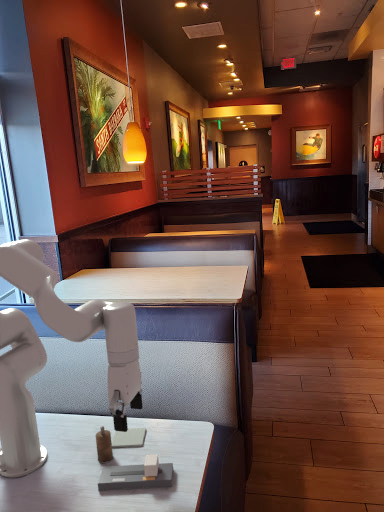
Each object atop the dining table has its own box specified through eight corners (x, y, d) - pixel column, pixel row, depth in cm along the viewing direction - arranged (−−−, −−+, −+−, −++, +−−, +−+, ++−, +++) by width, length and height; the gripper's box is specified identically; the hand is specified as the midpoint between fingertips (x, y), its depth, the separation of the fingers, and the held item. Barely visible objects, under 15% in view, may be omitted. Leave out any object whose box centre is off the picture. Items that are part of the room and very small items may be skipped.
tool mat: (110, 447, 115) (110, 446, 115) (116, 431, 123) (116, 429, 123) (142, 446, 115) (142, 444, 115) (145, 429, 123) (145, 427, 123)
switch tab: (145, 476, 99) (143, 465, 99) (147, 465, 103) (146, 454, 103) (157, 475, 99) (156, 464, 99) (158, 464, 103) (157, 454, 102)
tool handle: (98, 464, 108) (94, 432, 107) (97, 455, 112) (94, 425, 111) (113, 460, 109) (110, 429, 108) (112, 452, 113) (109, 422, 112)
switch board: (98, 490, 99) (97, 483, 99) (104, 473, 105) (103, 466, 104) (171, 486, 98) (171, 479, 98) (173, 469, 104) (172, 462, 104)
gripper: (123, 339, 106) (128, 399, 109) (91, 369, 90) (99, 439, 93) (150, 340, 105) (155, 401, 107) (123, 370, 88) (129, 442, 91)
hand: (129, 419), depth 100 cm, fingers open, 9 cm apart
